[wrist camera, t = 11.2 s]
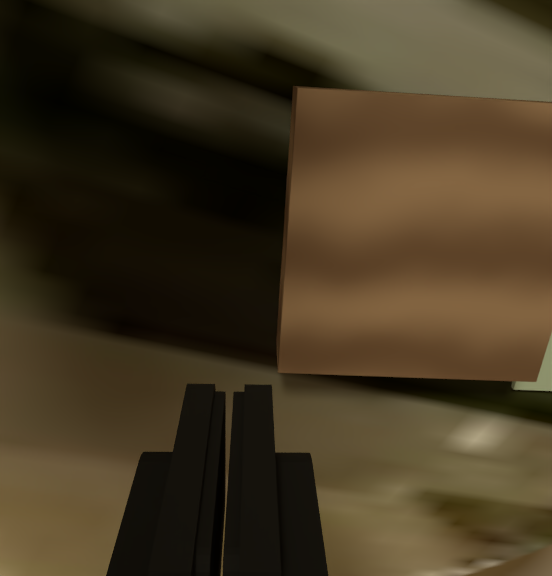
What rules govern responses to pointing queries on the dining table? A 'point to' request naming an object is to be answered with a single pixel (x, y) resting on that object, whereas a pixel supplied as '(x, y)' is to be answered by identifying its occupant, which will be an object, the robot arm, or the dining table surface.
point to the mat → (540, 374)
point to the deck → (416, 236)
